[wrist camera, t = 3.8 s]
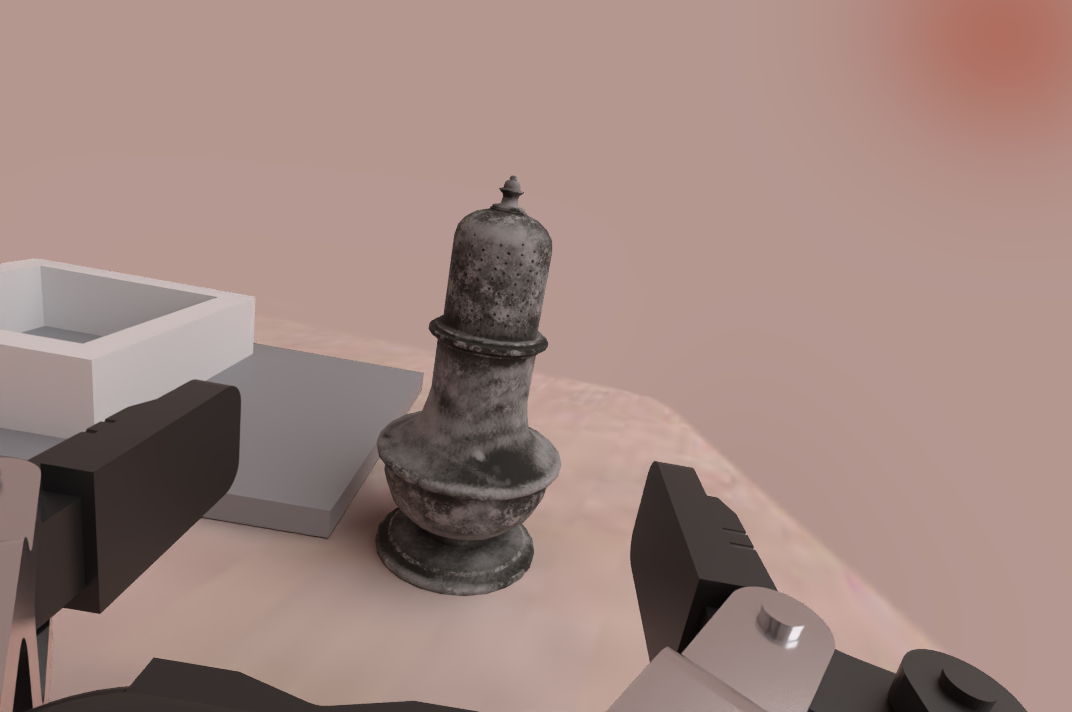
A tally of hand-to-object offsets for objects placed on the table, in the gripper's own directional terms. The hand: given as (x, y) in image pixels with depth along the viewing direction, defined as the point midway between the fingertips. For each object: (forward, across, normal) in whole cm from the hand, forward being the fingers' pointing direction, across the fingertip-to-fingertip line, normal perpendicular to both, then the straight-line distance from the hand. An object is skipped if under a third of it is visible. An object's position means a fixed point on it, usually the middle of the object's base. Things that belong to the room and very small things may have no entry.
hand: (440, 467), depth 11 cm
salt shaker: (+7, 0, +7) cm, 10 cm away
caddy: (+13, +14, +6) cm, 20 cm away
